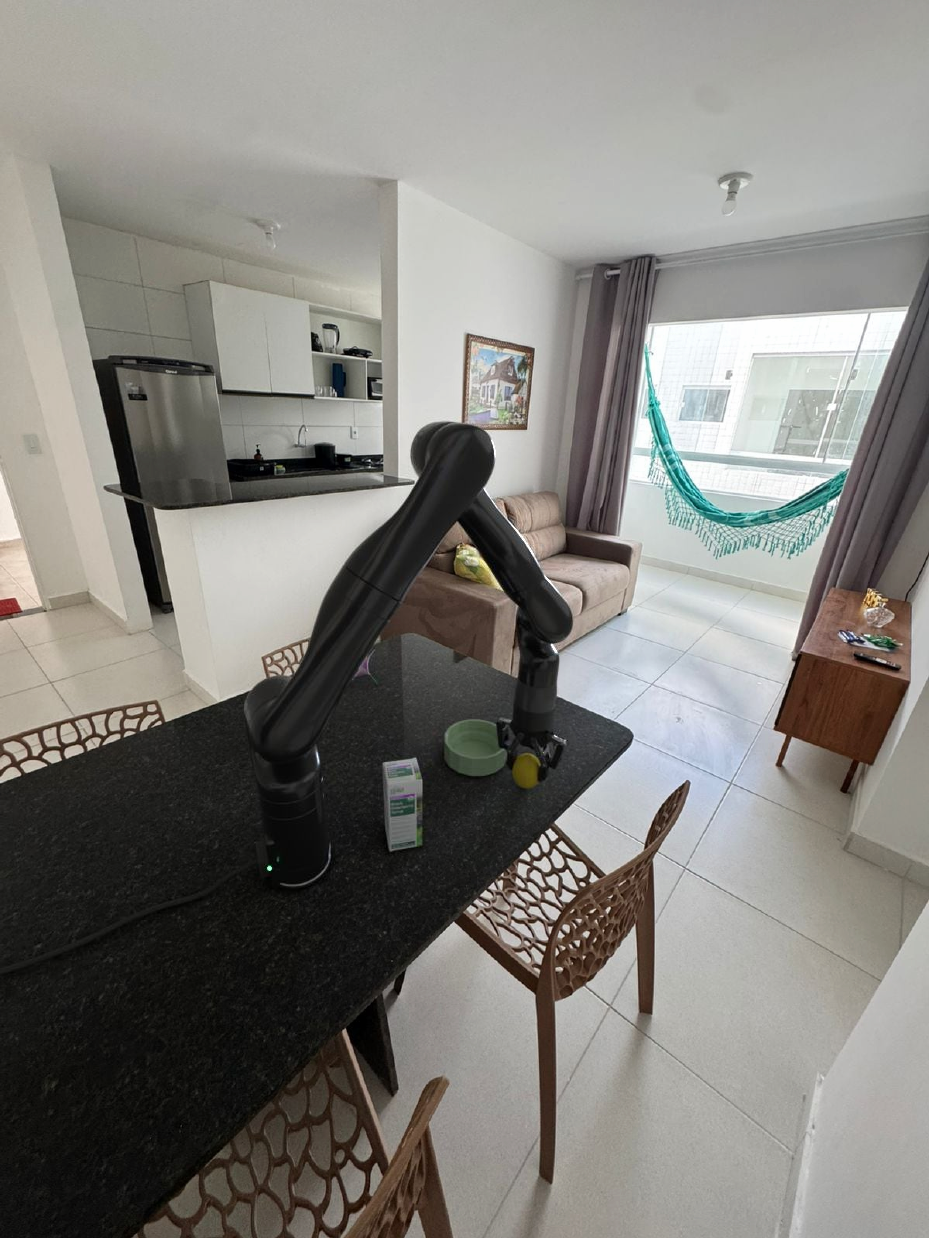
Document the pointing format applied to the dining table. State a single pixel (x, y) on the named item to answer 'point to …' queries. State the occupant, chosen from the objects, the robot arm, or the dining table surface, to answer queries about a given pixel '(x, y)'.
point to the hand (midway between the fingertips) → (526, 773)
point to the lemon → (526, 770)
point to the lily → (364, 668)
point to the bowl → (473, 748)
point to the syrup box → (402, 803)
